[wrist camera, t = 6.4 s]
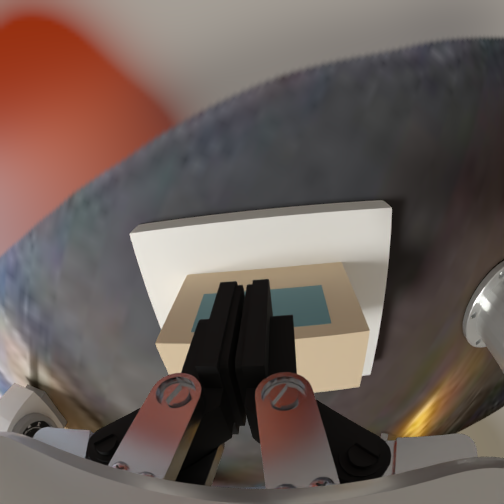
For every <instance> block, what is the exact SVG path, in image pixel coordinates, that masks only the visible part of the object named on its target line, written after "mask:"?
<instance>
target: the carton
mask: <svg viewBox="0 0 504 504" xmlns="http://www.w3.org/2000/svg"><path fill="white" fill-rule="evenodd" d="M261 279H269V283H270V292H271V302H272V311H273V316H281V315H293V321H294V336H295V351H296V367H297V374H298V375H301V376H303V377H304V378H305V379H306V380H308V381H309V383H310V385H311V386H312V389H313V392H314V393H315V392H324V391H332V390H340V389H348V388H354V387H360V382H361V377H362V372H363V367H364V362H365V357H366V351H367V346H368V340H369V333H370V329H369V327H368V324H367V322H366V319H365V317H364V314H363V312H362V309H361V307H360V304H359V302H358V299H357V297H356V295H355V292H354V290H353V288H352V285H351V283H350V281H349V278H348V276H347V274H346V271H345V269H344V267H343V264H342V262H334V263H323V264H312V265H301V266H290V267H278V268H266V269H254V270H242V271H229V272H216V273H203V274H189V275H187V276H186V278H185V280H184V282H183V284H182V287H181V289H180V291H179V293H178V295H177V297H176V299H175V301H174V303H173V305H172V308H171V310H170V312H169V314H168V316H167V318H166V321H165V323H164V325H163V327H162V329H161V331H160V334H159V336H158V338H157V340H156V343H155V344H156V346H157V349H158V351H159V353H160V356H161V358H162V360H163V362H164V364H165V367H166V369H167V371H168V373H169V375H170V374H174V373H181V371H182V368H183V365H184V362H185V359H186V356H187V353H188V350H189V347H190V344H191V341H192V338H193V335H194V332H195V329H196V326H197V324H198V321H199V320H200V319H209V317H210V314H211V311H212V307H213V304H214V301H215V298H216V294H217V291H218V288H219V285H220V282H231V281H236V282H237V284H238V285H243V288H244V294H246V287H247V285H248V284H252V282H253V280H261Z"/></svg>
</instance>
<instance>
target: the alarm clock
mask: <svg viewBox="0 0 504 504" xmlns="http://www.w3.org/2000/svg"><path fill="white" fill-rule="evenodd" d="M66 423H67V421H66V420H65V418H64V417H63V416H62V415H61V413H60V412H59V411H58V409H57V408H56V406H55V405H54V404H53V402H52V401H51V399H50V398H49V397H48V395H47V394H46V392H45V391H42V390H40V389H37V388H35V387H33V386H30V385H27V386H26V388H25V387H22V386H20V385H18V384H16V383H14V384H13V385H12V386H11V387H10V388H9V390H8V391H7V392H6V393H5V394H4V395H3V396H2V398H1V399H0V431H2V432H14V433H19V434H22V435H25V436H28V437H31V438H33V437H34V435H35V433H36V432H37V431H38V430H40V429H42V428H45V427H52V428H63V429H64V427H65V425H66Z"/></svg>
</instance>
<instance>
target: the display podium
mask: <svg viewBox="0 0 504 504" xmlns="http://www.w3.org/2000/svg"><path fill="white" fill-rule="evenodd" d="M391 221H392V207H391V206H389V205H388V204H387V203H386V202H385V201H383V200H375V201H359V202H344V203H330V204H317V205H305V206H293V207H282V208H272V209H262V210H252V211H242V212H233V213H224V214H215V215H207V216H199V217H191V218H183V219H175V220H168V221H160V222H153V223H146V224H139V225H138V226H137V227H136V228H135V229H134V230H133V231H132V232H131V233H129V234H130V237H131V241H132V244H133V248H134V251H135V254H136V258H137V261H138V264H139V267H140V270H141V273H142V276H143V279H144V282H145V285H146V288H147V291H148V294H149V297H150V300H151V303H152V306H153V308H154V311H155V314H156V317H157V319H158V322H159V325H160V327H161V329H162V327H163V325H164V323H165V321H166V318H167V316H168V314H169V312H170V310H171V308H172V305H173V303H174V301H175V299H176V297H177V295H178V293H179V291H180V289H181V287H182V284H183V282H184V280H185V278H186V276H187V275H189V274H203V273H216V272H229V271H242V270H254V269H266V268H278V267H290V266H301V265H312V264H323V263H334V262H342V264H343V267H344V269H345V271H346V274H347V276H348V278H349V281H350V283H351V285H352V288H353V290H354V292H355V295H356V297H357V299H358V302H359V304H360V307H361V309H362V312H363V314H364V317H365V319H366V322H367V324H368V327H369V329H370V333H369V340H368V346H367V351H366V357H365V362H364V367H363V372H362V376H364V375H370V374H371V369H372V365H373V360H374V356H375V351H376V346H377V340H378V335H379V329H380V323H381V317H382V311H383V304H384V297H385V289H386V281H387V272H388V262H389V251H390V238H391Z"/></svg>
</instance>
